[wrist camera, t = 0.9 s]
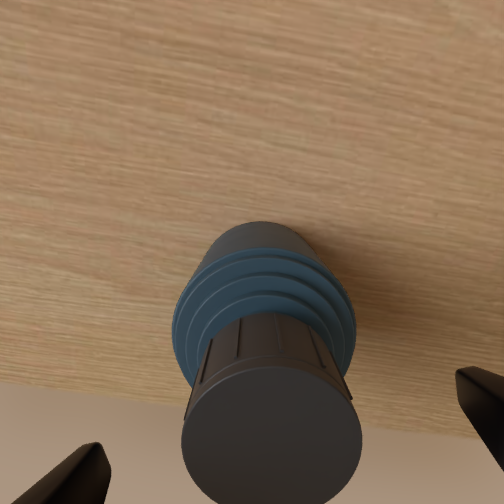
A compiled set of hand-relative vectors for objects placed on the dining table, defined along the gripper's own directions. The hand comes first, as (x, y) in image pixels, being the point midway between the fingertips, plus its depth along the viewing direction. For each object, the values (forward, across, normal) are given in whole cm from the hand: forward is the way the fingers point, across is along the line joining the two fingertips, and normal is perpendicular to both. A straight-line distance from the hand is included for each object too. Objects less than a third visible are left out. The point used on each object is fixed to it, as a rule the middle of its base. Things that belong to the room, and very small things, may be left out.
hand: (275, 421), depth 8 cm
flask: (+11, 0, 0) cm, 11 cm away
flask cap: (+2, 0, 0) cm, 2 cm away
